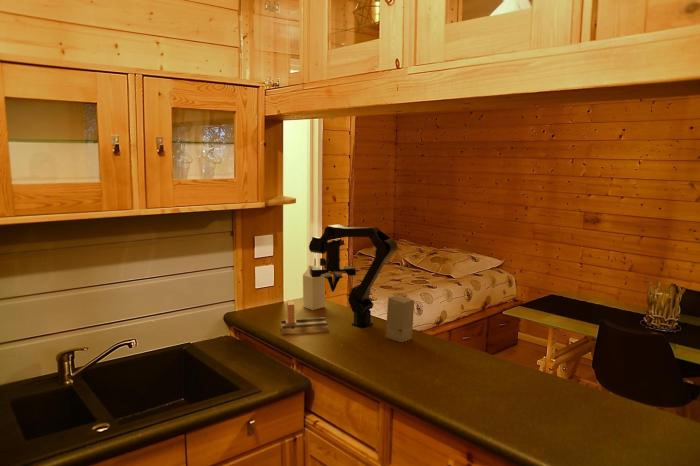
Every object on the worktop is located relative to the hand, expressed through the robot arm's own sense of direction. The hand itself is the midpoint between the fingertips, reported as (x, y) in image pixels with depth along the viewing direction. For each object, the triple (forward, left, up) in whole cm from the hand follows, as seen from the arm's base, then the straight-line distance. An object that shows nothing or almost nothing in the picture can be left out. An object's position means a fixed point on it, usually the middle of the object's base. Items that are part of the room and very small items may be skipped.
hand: (332, 291), depth 226 cm
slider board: (0, +16, -12) cm, 20 cm away
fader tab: (+3, +21, -10) cm, 23 cm away
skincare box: (-35, -1, -12) cm, 37 cm away
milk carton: (+18, -6, -12) cm, 23 cm away
